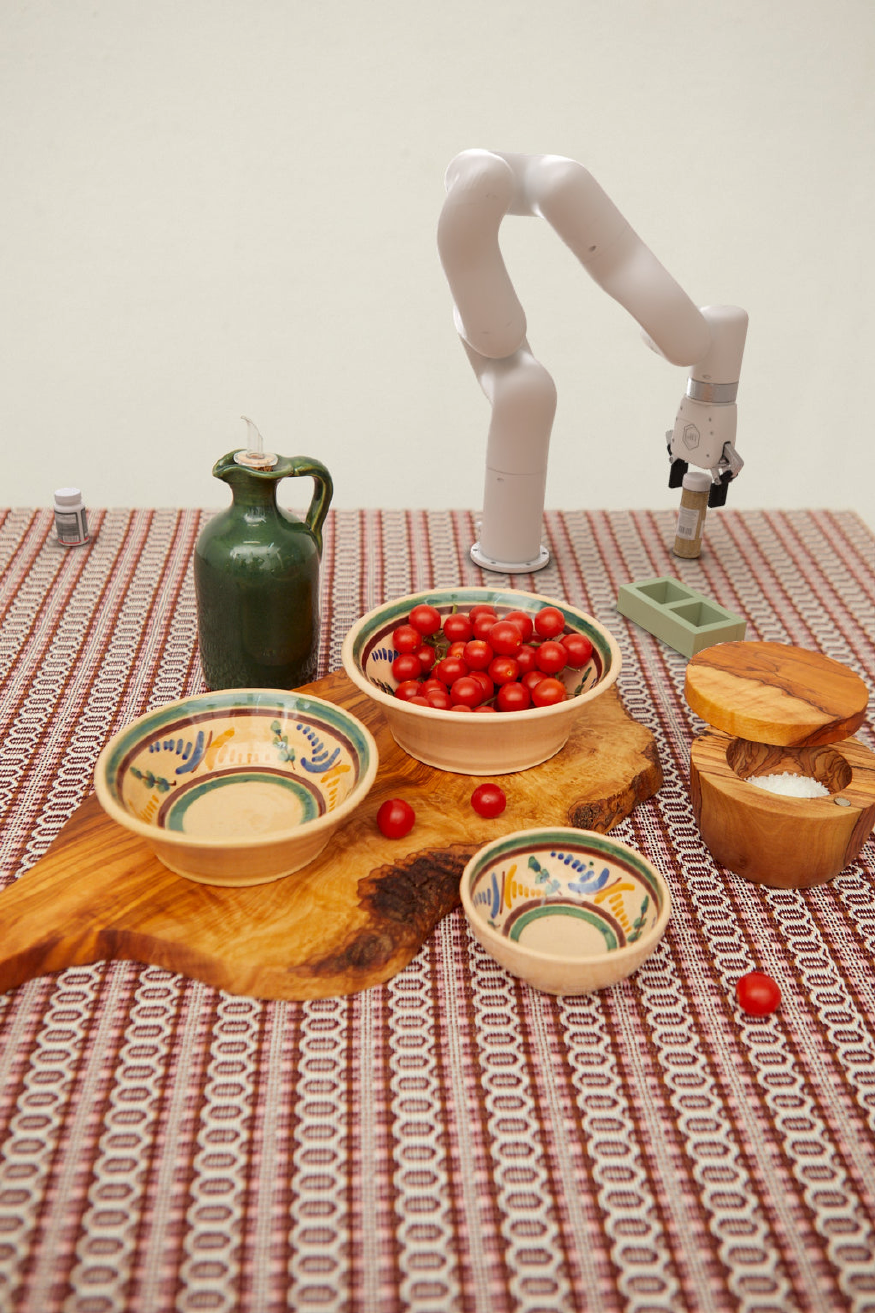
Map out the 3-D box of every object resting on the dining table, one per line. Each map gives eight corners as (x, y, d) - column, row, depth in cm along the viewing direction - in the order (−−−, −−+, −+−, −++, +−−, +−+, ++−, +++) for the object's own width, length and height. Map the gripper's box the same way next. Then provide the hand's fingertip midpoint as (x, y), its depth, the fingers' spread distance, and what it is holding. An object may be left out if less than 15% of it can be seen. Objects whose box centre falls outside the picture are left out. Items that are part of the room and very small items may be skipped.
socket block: (691, 660, 147) (695, 634, 145) (616, 610, 160) (619, 585, 158) (742, 647, 151) (747, 621, 149) (665, 599, 164) (669, 574, 162)
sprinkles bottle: (705, 555, 180) (719, 477, 173) (685, 561, 177) (698, 482, 171) (686, 546, 183) (698, 469, 176) (666, 551, 181) (677, 473, 174)
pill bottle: (76, 533, 178) (70, 484, 174) (95, 540, 176) (89, 490, 172) (52, 541, 175) (45, 491, 171) (71, 549, 172) (64, 498, 168)
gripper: (656, 378, 172) (643, 483, 180) (731, 407, 159) (714, 518, 167) (694, 374, 175) (679, 476, 184) (770, 402, 162) (751, 511, 170)
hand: (696, 496), depth 175 cm, fingers open, 9 cm apart
